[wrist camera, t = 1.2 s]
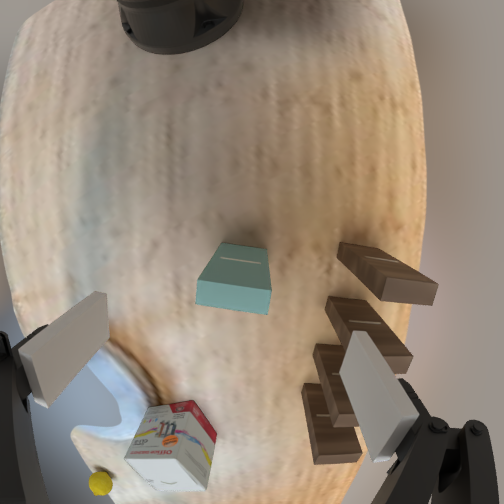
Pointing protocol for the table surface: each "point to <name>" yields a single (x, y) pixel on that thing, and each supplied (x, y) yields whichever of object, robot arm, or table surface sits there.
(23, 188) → the table surface
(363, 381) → the robot arm
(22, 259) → the table surface
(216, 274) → the domino
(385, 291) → the domino
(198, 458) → the ink box
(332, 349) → the domino
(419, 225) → the table surface
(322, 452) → the domino
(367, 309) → the domino
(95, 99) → the table surface
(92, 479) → the fruit
